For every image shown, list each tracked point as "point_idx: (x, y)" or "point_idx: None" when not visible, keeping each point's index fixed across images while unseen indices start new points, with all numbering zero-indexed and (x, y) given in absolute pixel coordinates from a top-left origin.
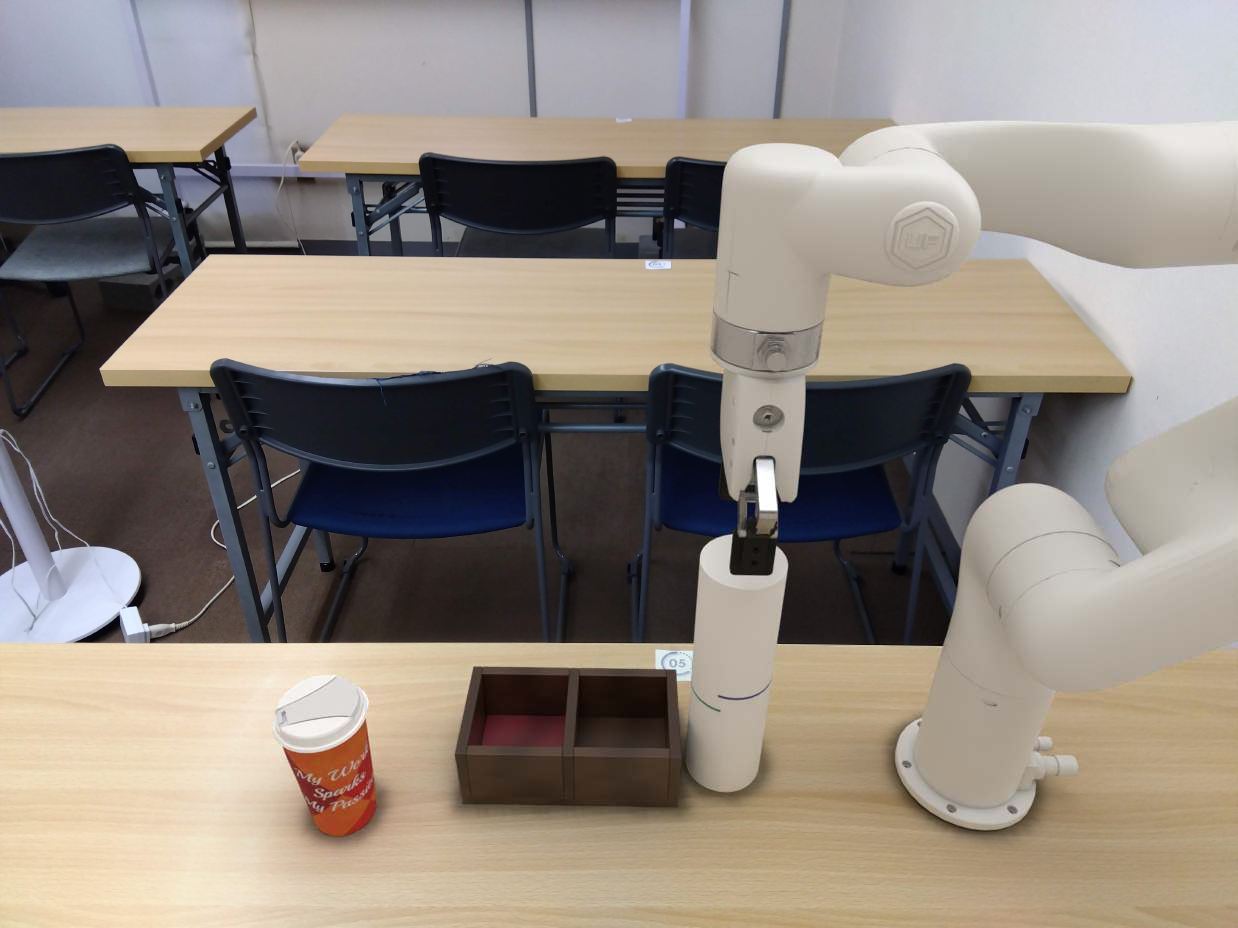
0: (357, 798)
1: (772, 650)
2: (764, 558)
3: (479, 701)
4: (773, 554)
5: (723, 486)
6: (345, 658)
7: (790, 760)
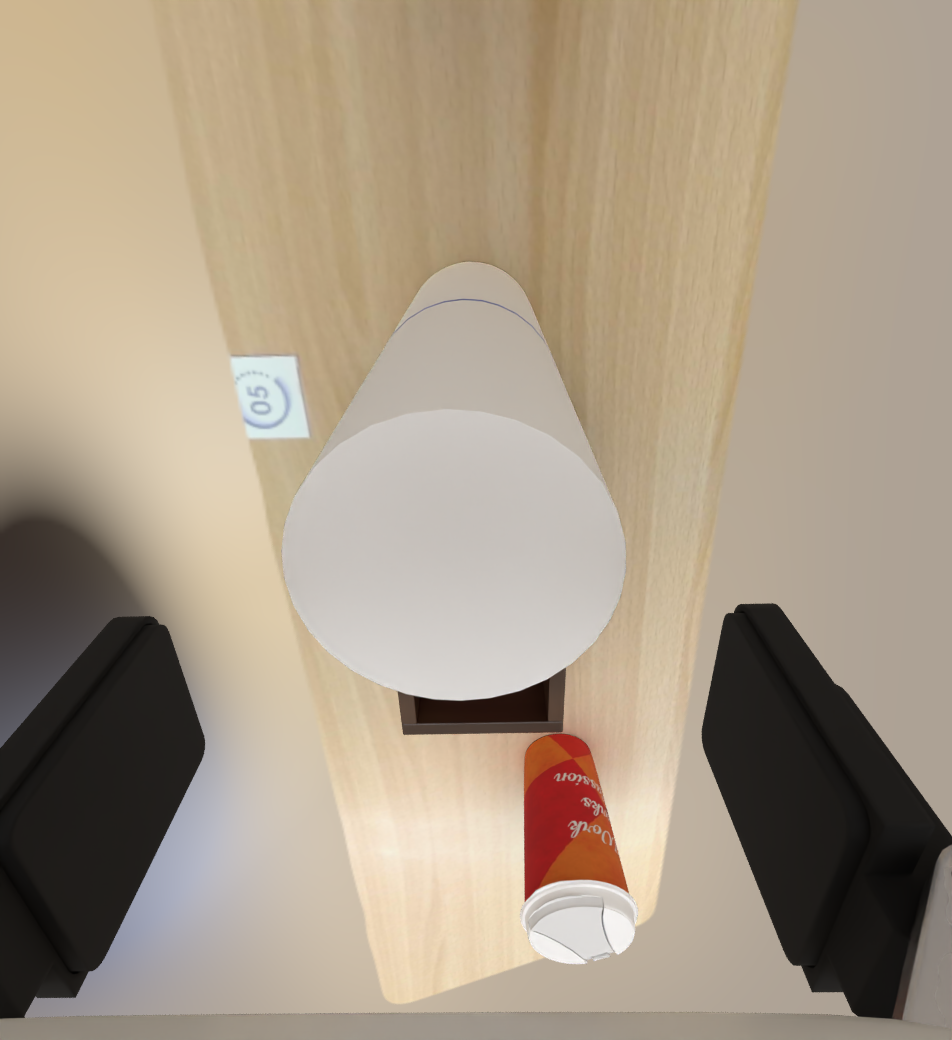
0: (592, 783)
1: (530, 345)
2: (879, 744)
3: (452, 707)
4: (831, 691)
5: (170, 806)
6: (342, 802)
7: (463, 195)
